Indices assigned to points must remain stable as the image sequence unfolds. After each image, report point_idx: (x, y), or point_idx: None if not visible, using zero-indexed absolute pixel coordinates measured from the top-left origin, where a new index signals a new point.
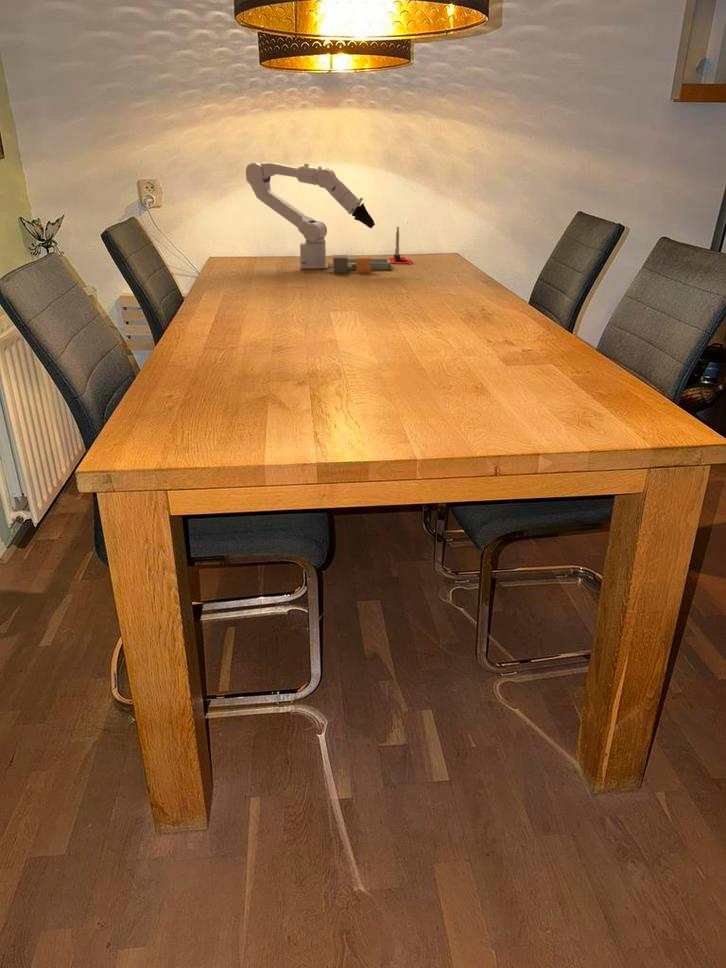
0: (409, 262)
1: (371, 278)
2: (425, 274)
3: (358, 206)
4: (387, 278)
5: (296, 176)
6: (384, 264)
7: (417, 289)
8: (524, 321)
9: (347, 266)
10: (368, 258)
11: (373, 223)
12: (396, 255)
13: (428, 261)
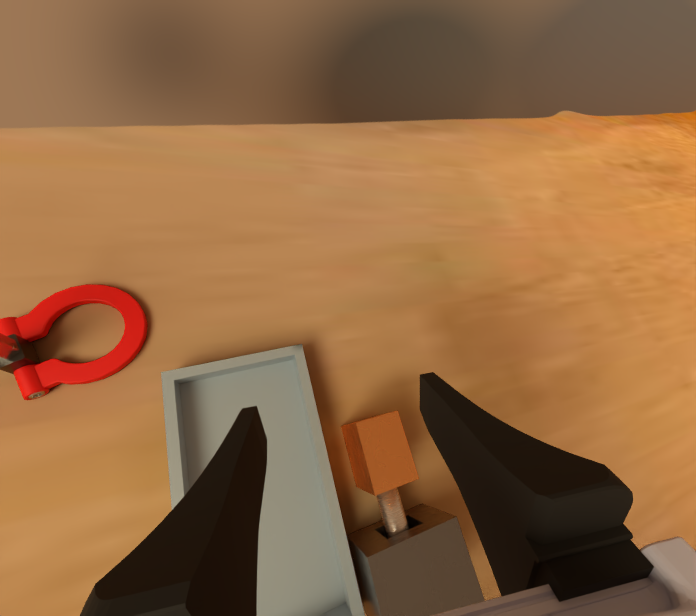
0: (126, 293)
1: (469, 387)
2: (352, 239)
3: (629, 543)
4: (451, 338)
5: None
6: (306, 369)
7: (547, 254)
8: (649, 134)
9: (437, 509)
10: (397, 419)
11: (257, 418)
12: (23, 352)
13: (39, 228)
